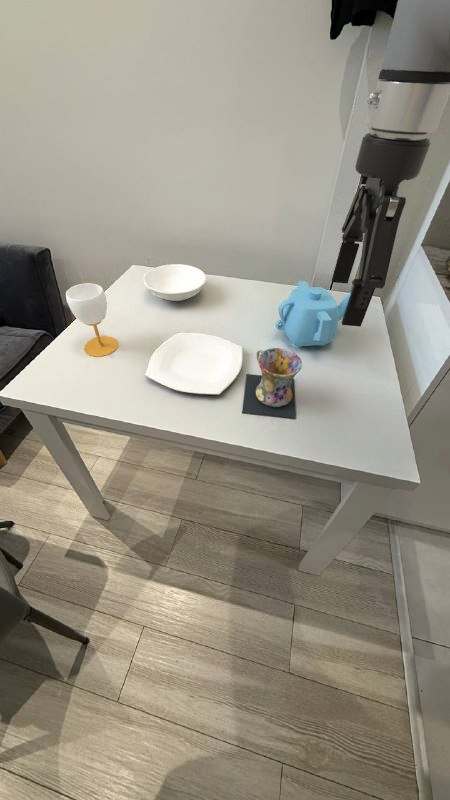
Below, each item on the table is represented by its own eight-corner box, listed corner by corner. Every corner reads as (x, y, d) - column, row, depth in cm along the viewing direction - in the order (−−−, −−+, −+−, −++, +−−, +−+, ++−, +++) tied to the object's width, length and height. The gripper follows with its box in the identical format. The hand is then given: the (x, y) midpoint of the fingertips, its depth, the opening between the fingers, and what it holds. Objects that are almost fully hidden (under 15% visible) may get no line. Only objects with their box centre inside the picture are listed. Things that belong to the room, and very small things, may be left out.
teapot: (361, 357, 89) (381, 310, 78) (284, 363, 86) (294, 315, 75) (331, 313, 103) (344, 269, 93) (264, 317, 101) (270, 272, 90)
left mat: (295, 419, 73) (296, 418, 72) (242, 413, 73) (242, 412, 73) (294, 379, 82) (294, 378, 81) (246, 375, 82) (246, 373, 82)
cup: (76, 351, 87) (55, 295, 75) (98, 333, 93) (82, 279, 81) (103, 360, 84) (86, 305, 73) (125, 341, 90) (112, 287, 79)
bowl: (210, 284, 115) (210, 266, 110) (200, 314, 101) (200, 295, 96) (155, 279, 116) (152, 261, 111) (138, 309, 102) (134, 290, 97)
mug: (301, 400, 76) (311, 365, 68) (270, 416, 72) (277, 381, 65) (268, 371, 83) (274, 336, 75) (239, 385, 79) (242, 349, 71)
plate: (224, 408, 74) (225, 402, 73) (134, 384, 79) (132, 378, 77) (251, 349, 89) (252, 343, 88) (174, 332, 94) (173, 326, 93)
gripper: (349, 119, 47) (315, 266, 62) (389, 152, 29) (329, 345, 45) (403, 122, 46) (355, 269, 61) (476, 157, 29) (385, 350, 44)
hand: (344, 301), depth 53 cm, fingers open, 13 cm apart
